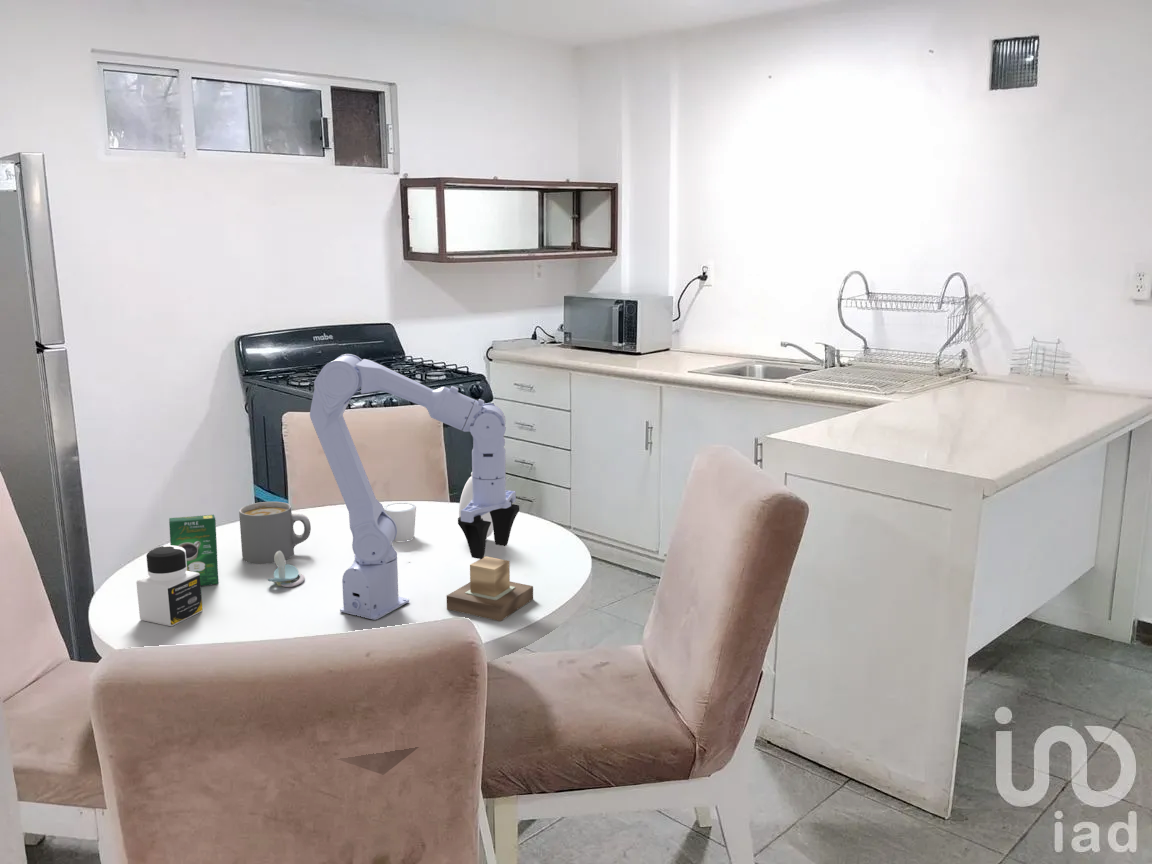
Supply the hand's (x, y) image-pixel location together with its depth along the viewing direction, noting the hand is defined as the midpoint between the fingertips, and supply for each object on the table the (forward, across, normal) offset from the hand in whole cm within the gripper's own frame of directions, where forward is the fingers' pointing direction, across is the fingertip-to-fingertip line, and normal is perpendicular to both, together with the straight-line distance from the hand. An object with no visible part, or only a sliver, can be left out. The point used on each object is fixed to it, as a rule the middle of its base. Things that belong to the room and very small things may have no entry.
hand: (489, 551), depth 159 cm
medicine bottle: (+10, -30, +45) cm, 55 cm away
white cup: (+10, +22, +37) cm, 44 cm away
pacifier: (+10, -9, +39) cm, 42 cm away
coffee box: (+10, -18, +53) cm, 57 cm away
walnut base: (+10, 0, 0) cm, 10 cm away
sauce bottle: (+10, +28, +21) cm, 36 cm away
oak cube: (+7, 0, 0) cm, 7 cm away
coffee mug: (+10, +1, +52) cm, 53 cm away
